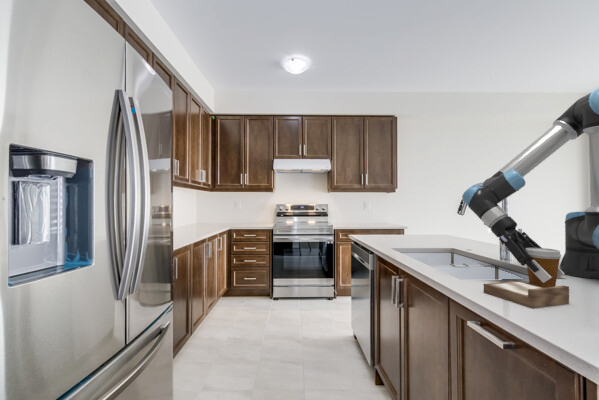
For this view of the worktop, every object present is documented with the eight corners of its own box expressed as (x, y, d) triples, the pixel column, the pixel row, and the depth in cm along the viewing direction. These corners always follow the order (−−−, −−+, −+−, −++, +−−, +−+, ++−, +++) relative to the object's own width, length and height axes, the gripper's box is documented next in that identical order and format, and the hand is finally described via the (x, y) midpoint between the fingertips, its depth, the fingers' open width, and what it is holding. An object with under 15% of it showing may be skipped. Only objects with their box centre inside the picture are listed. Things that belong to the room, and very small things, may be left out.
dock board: (516, 288, 102) (516, 274, 102) (569, 303, 87) (569, 286, 87) (483, 292, 98) (483, 277, 98) (532, 308, 84) (532, 290, 84)
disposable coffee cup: (568, 293, 97) (568, 252, 97) (532, 291, 99) (532, 251, 99) (550, 284, 107) (551, 247, 107) (518, 283, 108) (518, 247, 108)
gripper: (506, 228, 121) (558, 280, 108) (474, 231, 110) (527, 289, 97) (522, 214, 117) (579, 267, 103) (490, 215, 106) (548, 275, 92)
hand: (554, 278), depth 100 cm, fingers closed on disposable coffee cup, 9 cm apart
